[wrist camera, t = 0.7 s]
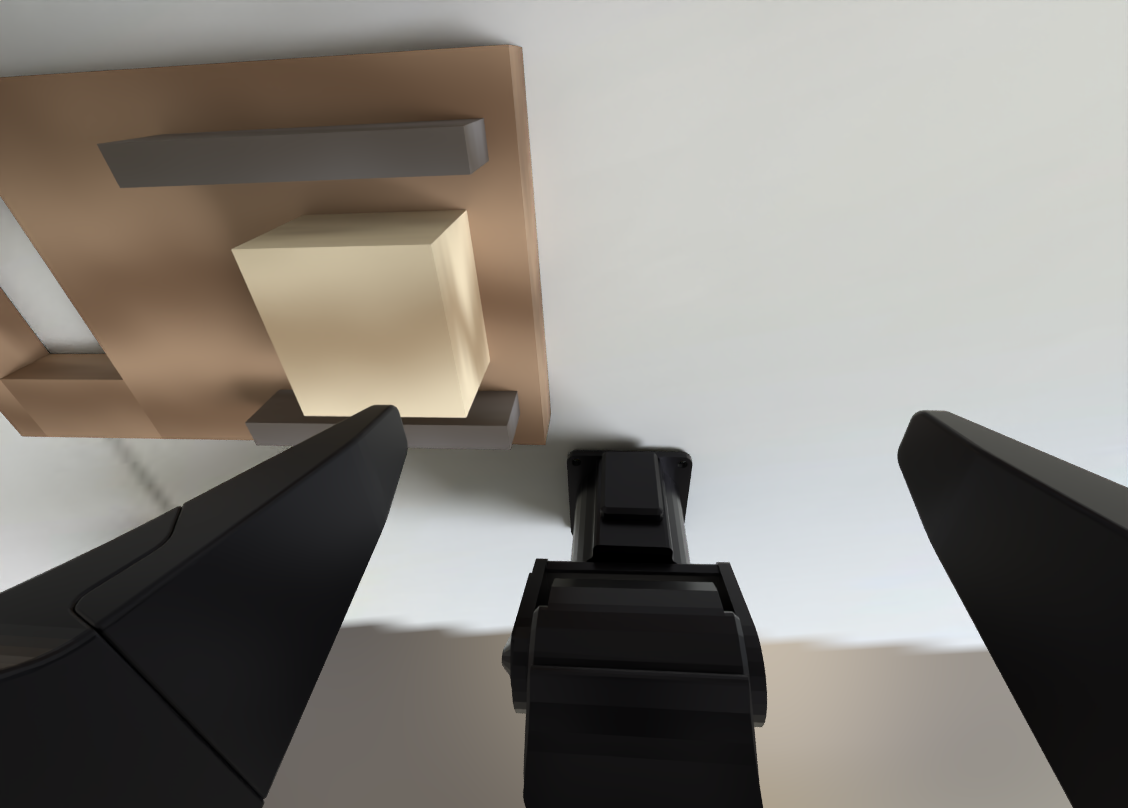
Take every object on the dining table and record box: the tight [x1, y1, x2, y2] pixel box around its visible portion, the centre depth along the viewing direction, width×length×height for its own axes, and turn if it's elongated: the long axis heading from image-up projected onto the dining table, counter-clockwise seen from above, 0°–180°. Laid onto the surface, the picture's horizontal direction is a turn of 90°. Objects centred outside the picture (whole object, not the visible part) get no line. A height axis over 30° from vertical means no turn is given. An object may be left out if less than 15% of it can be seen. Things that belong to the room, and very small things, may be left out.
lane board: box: [0, 45, 551, 450], centre depth 20 cm, size 15×28×5 cm, turn 93°
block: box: [231, 210, 490, 418], centre depth 17 cm, size 6×6×4 cm
